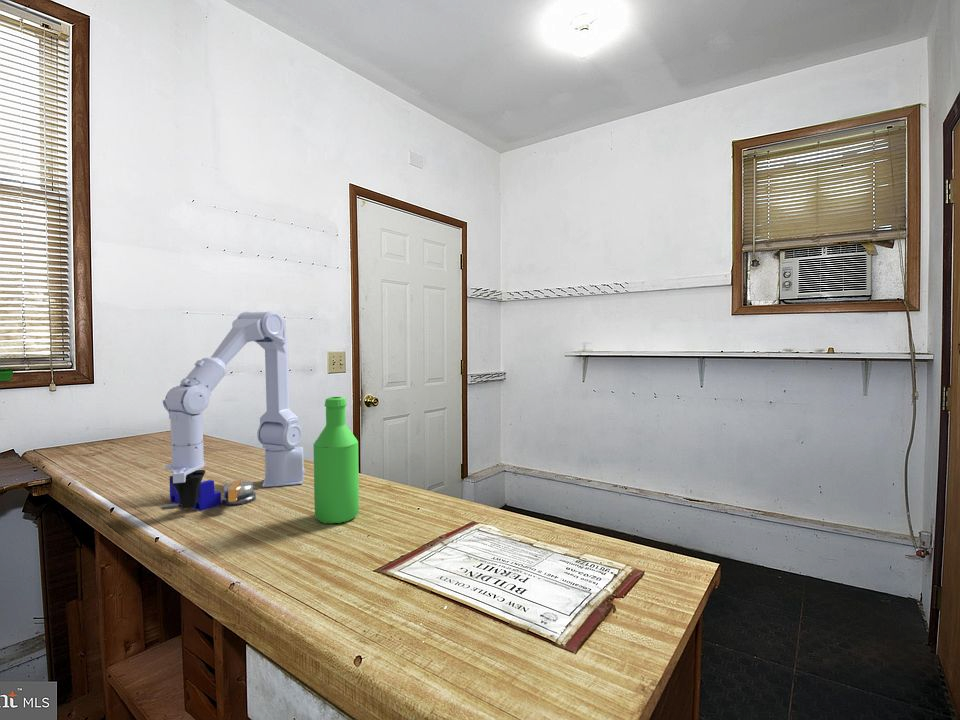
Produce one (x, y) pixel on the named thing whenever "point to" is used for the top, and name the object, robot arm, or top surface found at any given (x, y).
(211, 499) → the cable clip
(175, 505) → the grey block
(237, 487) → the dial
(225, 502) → the dial housing
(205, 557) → the top surface
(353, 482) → the bottle
